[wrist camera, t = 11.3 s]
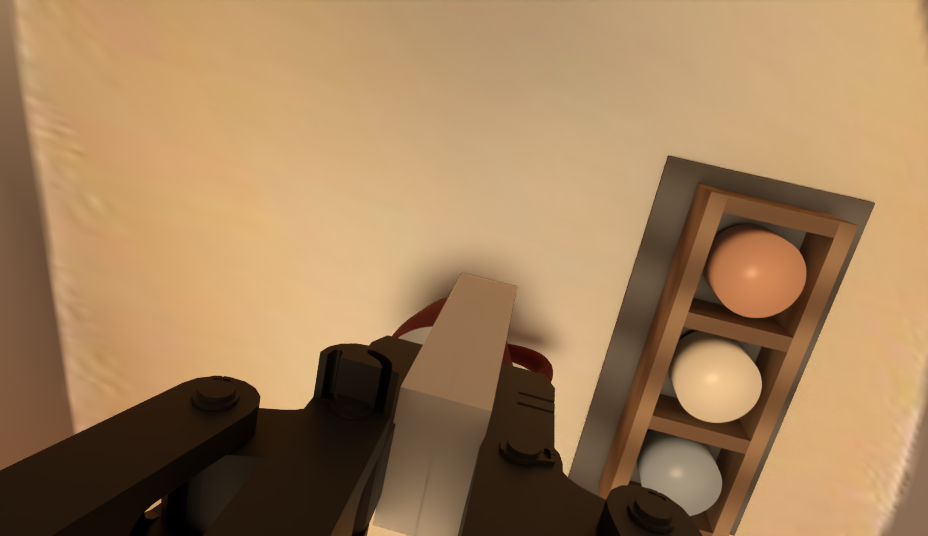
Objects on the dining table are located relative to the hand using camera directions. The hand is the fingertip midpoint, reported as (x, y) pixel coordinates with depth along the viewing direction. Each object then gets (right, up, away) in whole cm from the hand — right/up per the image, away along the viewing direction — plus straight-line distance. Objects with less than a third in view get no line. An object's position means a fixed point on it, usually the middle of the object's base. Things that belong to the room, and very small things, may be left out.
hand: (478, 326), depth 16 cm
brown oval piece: (+18, +2, +24) cm, 30 cm away
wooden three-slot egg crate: (+16, -5, +27) cm, 32 cm away
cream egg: (+16, -5, +26) cm, 31 cm away
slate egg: (+15, -12, +28) cm, 34 cm away
